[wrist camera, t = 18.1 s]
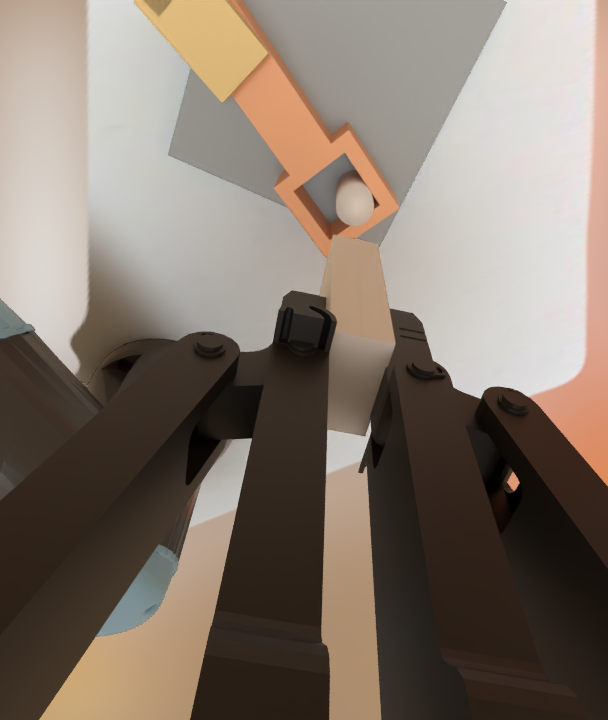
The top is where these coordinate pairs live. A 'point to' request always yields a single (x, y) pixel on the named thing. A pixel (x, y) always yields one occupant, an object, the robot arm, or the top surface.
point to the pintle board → (325, 85)
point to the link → (305, 143)
